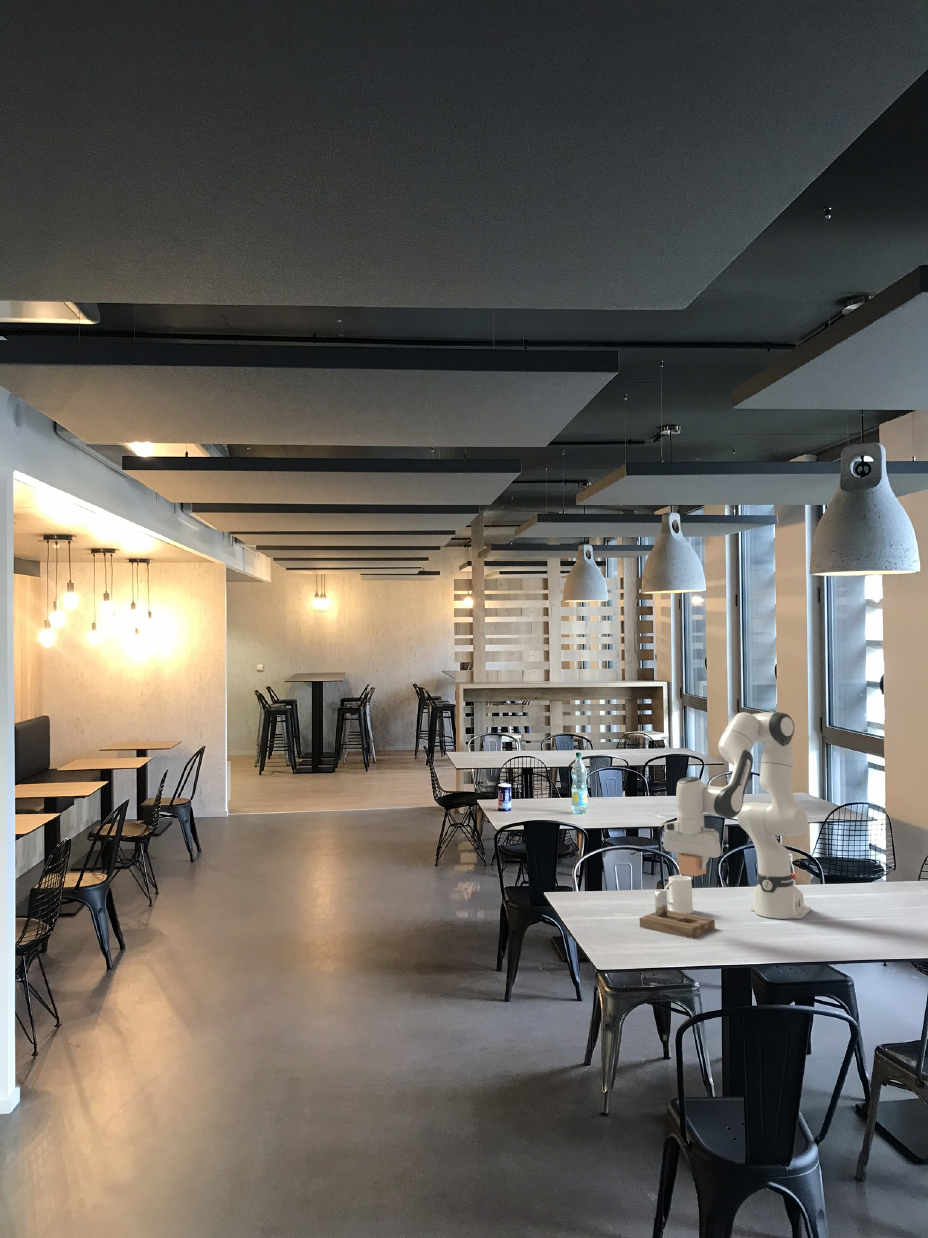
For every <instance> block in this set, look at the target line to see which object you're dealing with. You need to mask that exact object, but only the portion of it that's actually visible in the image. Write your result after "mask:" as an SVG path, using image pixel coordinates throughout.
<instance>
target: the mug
mask: <svg viewBox="0 0 928 1238" xmlns="http://www.w3.org/2000/svg"><path fill="white" fill-rule="evenodd" d="M692 882H693V881H692V877H691V876H689V875H682V874H678V875H677V874H676V875H671V876H669V877H668V883H667V884H666V886H665V887H664V889H663V891H666V892H667V889H669V890H668V891H669V892H668V893H669V900H667V905H669V909H668V910H670V911H675V912H680V913H685V914H690V915H691V914H692V913H694V907H693V905H694V904H693V885H692Z"/></svg>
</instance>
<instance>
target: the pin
mask: <svg viewBox="0 0 928 1238" xmlns="http://www.w3.org/2000/svg"><path fill="white" fill-rule="evenodd" d="M654 899H655V900H654V901H655V903H654V904H655V912H656V916H658V917H667V916H668V911H667V910H668V903H667V901H668V892H667V890H666V891H664V890H661V889H660V890H656V891H654Z"/></svg>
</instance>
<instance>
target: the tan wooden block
mask: <svg viewBox="0 0 928 1238" xmlns="http://www.w3.org/2000/svg"><path fill="white" fill-rule="evenodd" d="M678 856H679V861H678V875H684V876H690V877H691V876H692V877H698V876H702V875H705V874H707V868H706V869H705V870H701V869H700V866H699V864H702V862H703V860H704V859H702V856H698V855H691V854H684V853H683V854H682V855H678Z"/></svg>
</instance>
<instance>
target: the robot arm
mask: <svg viewBox="0 0 928 1238" xmlns="http://www.w3.org/2000/svg"><path fill="white" fill-rule="evenodd" d="M794 734H795V723H794V720H793V718H792V716H790V715H789V714H787V713H785V712H779V711H777V712H771V711H770V712H769V711H767V712H766V711H765V712H764V711H763V712H759V713H758V712H756V713H752V714H751V713H749V712H746V711H745V712H744V711H743V712H739V713H737V714H735V715H734V717H733V718H732V719H731V720H730V722H728V724H727V725H726V727H725V729H724V730H723V732H722V734H721V737H720V738H719V741H718V745H717V748H718V751H719V754H720V756H721V757H722V758H723V759H724V761H726V762H727V763H728V764H730V765H732V766H733V771H732V774H731V776H730V779H729V783H728V784H726V785H724V786H714V785H709V784H707V783H704V782H703V781H702V780H701V779H700V778H699V777H698V776H686V777H683V778H680V779H679V780H678V781H677V783H676V791H675V793H676V795H675V799H676V801H675V803H676V807H677V814H676V820H673V821H671V822H667V823H664V826H663V828H664V830H665V831H664V832H663V841H662V842H663V849H664V850H665V851H666V852H672V853H675V857H676V859H677V861H678V862H679V856H678V855H682V854H691V855H698V856H702V859H704V860H703V862H702V864H699V866H700V869H701V870H705V869H706V870H707V863H708V861H709V860H710V858H713V859H714V858H715V859H716V858H718V857H720V856H721V854H722V851H721V844H720V833H719V831H717V830H716V829H715V828H709V827H705V815H704V814H708V815H712V816H718V817H723V818H726V819H734V818H736V819H737V822H738V825H739V826H740V828H742V829H743V830H744V831H745V832H746V834H747V835H748V837H750V839H751V841H752V843H753V845H754V849H755V852H756V860H757V873H756V880H757V881H756V882H757V885H756V886H755V887H754V897H753V899H754V900H753V901H754V902H753V905H752V906H751V907H750V910H751V911H754V913H755V915H758V916H761V917H764V918H770V919H778V920H779V919H780V920H782V919H783V920H784V919H785V920H786V919H787V920H788V919H799V920H800V919H804V918H805V917H806V916H807V914H808V913H810V912H811V911H812V907H811V906H809V905H807V904H805V902H804V894H803V892H802V891H801V890H800V889H798V888H797V887H796V885H795V882H794V880H796V878H797V873H794V872H793V873H792V871H791V855H790V852H789V850H788V848H786V847H785V846H784V845H782V844H781V843H780V842H779V841H778V839H777V838H776V836H782V837H799V836H802V835H804V834H805V833H806V832H807V829H808V826H809V817H808V815H807V813H806V811H805V810H804V809H803V808H802V807H801V806H800V805H799V804H798V802H797V800H796V799H795V795H794V793H793V792H794V791H793V770H794V750H793V743H792V742H791V741H792V740H793V737H794ZM755 743H757V744H762V746H763V751H762V756H761V761H760V762H761V763H760V769H759V770H760V771H759V781H758V783H759V785H760V788H761V789H762V790H763V791H764V792H766V793H767V794H769V795H770V799H771V802H770V803H769V802H761V801H760V802H759V801H754V802H753V801H752V802H744V797H745V794H746V790H747V786H748V783H749V780H750V776H751V773H752V770H753V765H754V757H753V753H751V752H752V749H753V747H754V745H755Z"/></svg>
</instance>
